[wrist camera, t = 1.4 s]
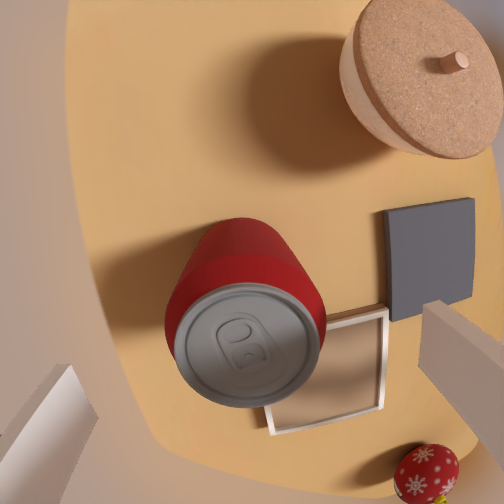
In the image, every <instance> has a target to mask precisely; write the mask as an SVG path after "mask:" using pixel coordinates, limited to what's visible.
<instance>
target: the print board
mask: <svg viewBox="0 0 504 504" xmlns="http://www.w3.org/2000/svg"><path fill="white" fill-rule="evenodd" d="M326 320H327V327H326V335H325V340H324V343H323V346H322V349H321V351H320V353H319V358H318V362H317V364H316V367H315V369H314V371H313V373H312V375H311V376H310V378H309V379H308V380H307V381H306V383H305V384H304V385H303V386H302V387H301V388H300V389H298V390H297V391H296V392H295V393H293V394H292V395H290V396H289V397H287V398H285V399H283V400H281V401H279V402H276V403H274V404H271V405H267V406H264V409H265V414H266V418H267V423H268V427H269V431H270V436H272V435H278V434H283V433H289V432H294V431H299V430H304V429H309V428H313V427H318V426H322V425H326V424H330V423H334V422H338V421H342V420H346V419H349V418H353V417H357V416H360V415H364V414H367V413H370V412H373V411H377V410H380V409H383V405H384V395H385V384H386V371H387V355H388V330H389V309H388V308H387V307H386V306H385V305H384V304H383V303H378V304H374V305H370V306H366V307H362V308H358V309H353V310H349V311H345V312H341V313H336V314H332V315H327V316H326Z"/></svg>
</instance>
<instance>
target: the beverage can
mask: <svg viewBox="0 0 504 504" xmlns="http://www.w3.org/2000/svg"><path fill="white" fill-rule="evenodd" d="M326 327H327V320H326V312H325V307H324V304H323V301H322V298H321V296H320V294H319V292H318V290H317V289H316V287H315V286H314V284H313V282H312V281H311V279H310V278H309V276H308V274H307V273H306V271H305V270H304V268H303V267H302V265H301V264H300V262H299V261H298V259H297V258H296V256H295V255H294V253H293V252H292V251H291V249H290V248H289V246H288V245H287V244H286V242H285V241H284V240H283V238H282V237H281V236H280V235H279V233H278V232H277V231H276V230H274V229H273V228H272V227H271V226H269V225H267V224H266V223H264V222H261V221H259V220H256V219H251V218H233V219H229V220H226V221H223V222H221V223H219V224H217V225H215V226H214V227H212V228H211V229H210V230H209V231H208V232H207V233H206V234H205V235H204V236H203V237H202V239H201V240H200V242H199V244H198V245H197V247H196V249H195V251H194V252H193V254H192V256H191V258H190V260H189V262H188V263H187V265H186V267H185V269H184V271H183V273H182V275H181V277H180V279H179V281H178V283H177V285H176V287H175V289H174V292H173V294H172V296H171V298H170V300H169V303H168V306H167V309H166V314H165V336H166V340H167V344H168V347H169V350H170V352H171V354H172V356H173V358H174V359H175V361H176V364H177V367H178V369H179V371H180V373H181V375H182V376H183V378H184V379H185V381H186V382H187V383H188V384H189V385H190V386H191V387H192V388H193V389H194V390H195V391H196V392H197V393H199V394H200V395H202V396H203V397H205V398H207V399H209V400H211V401H213V402H215V403H218V404H221V405H225V406H229V407H235V408H257V407H263V406H267V405H271V404H274V403H276V402H279V401H281V400H283V399H285V398H287V397H289V396H290V395H292V394H293V393H295V392H296V391H297V390H298V389H300V388H301V387H302V386H303V385H304V384H305V383H306V381H307V380H308V379H309V378H310V376H311V375H312V373H313V371H314V369H315V367H316V364H317V362H318V358H319V353H320V351H321V349H322V346H323V343H324V340H325V335H326Z"/></svg>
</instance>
